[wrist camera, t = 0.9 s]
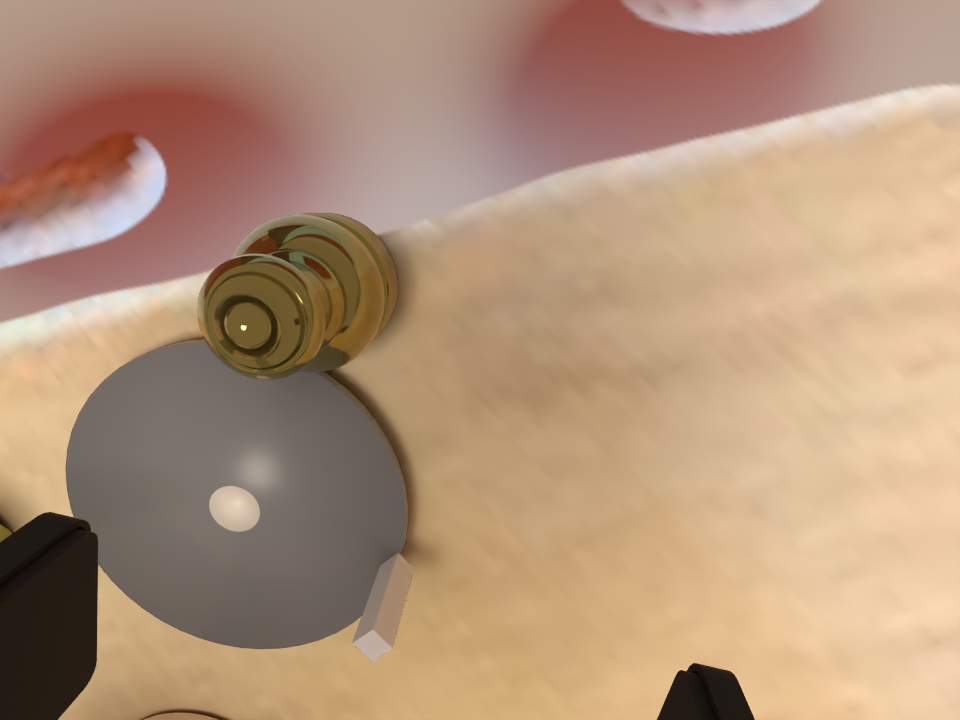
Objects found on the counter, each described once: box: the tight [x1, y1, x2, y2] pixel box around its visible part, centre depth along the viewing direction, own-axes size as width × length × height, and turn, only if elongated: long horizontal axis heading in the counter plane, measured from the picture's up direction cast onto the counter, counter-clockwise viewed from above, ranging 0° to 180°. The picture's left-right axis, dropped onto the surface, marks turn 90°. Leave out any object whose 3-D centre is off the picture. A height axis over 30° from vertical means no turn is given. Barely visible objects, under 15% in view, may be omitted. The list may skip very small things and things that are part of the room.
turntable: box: [66, 339, 414, 662], centre depth 30 cm, size 20×20×7 cm
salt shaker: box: [197, 213, 398, 380], centre depth 26 cm, size 7×7×10 cm
